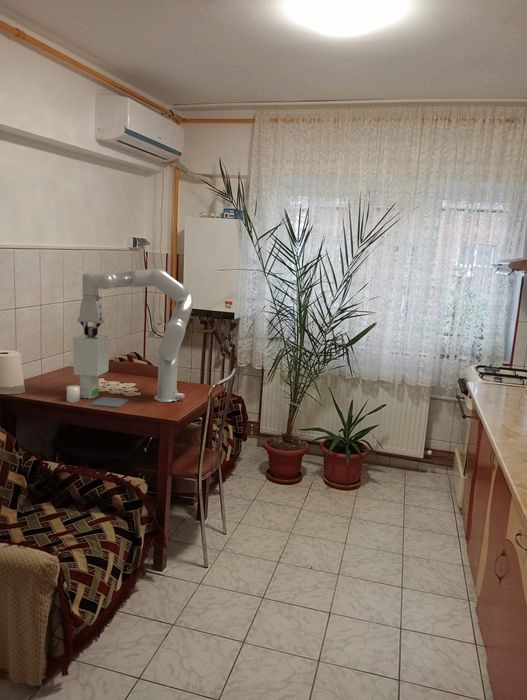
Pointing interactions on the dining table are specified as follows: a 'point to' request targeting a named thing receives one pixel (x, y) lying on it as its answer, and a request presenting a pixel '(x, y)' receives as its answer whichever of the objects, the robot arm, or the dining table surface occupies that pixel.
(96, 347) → the beige box
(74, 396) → the white round cylinder
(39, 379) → the dining table surface
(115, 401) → the mat
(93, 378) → the skincare box
